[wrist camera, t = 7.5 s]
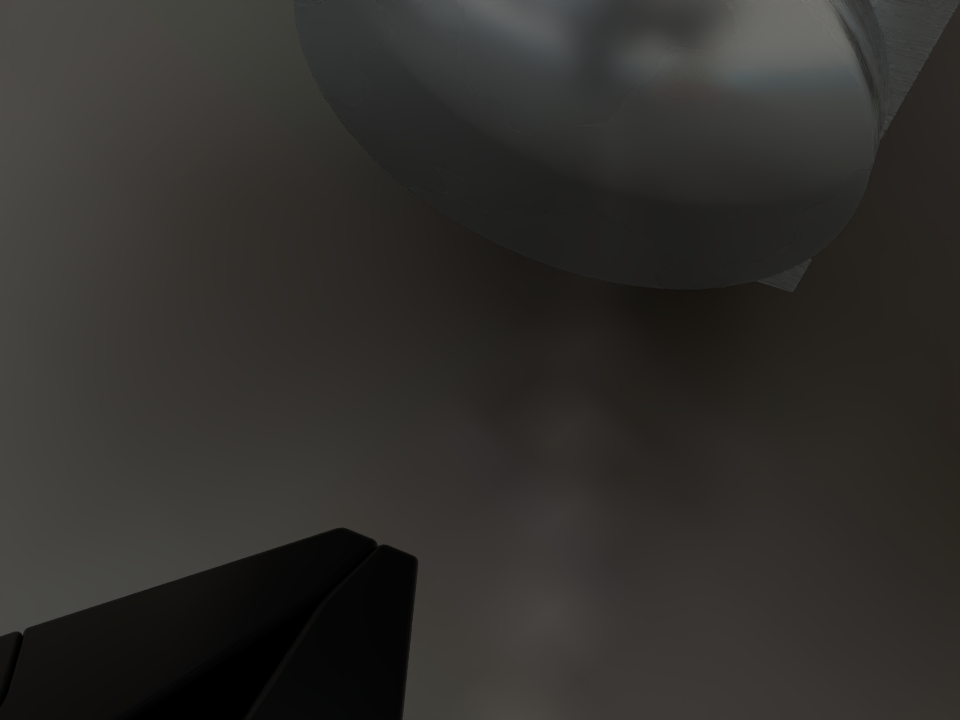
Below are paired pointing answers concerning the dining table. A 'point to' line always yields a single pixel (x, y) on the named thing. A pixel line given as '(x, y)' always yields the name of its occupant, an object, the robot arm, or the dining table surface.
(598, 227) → the cube on metal disc
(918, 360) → the dining table surface
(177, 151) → the dining table surface
